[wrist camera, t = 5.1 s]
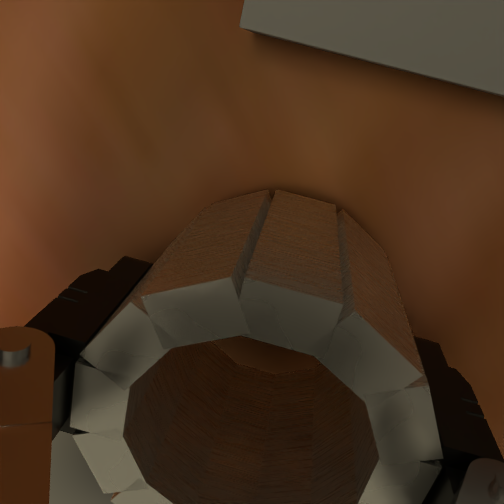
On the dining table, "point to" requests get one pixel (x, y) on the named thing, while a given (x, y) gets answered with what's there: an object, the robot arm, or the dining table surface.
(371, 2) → the piston block
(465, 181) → the dining table surface
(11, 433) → the robot arm
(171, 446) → the ring
